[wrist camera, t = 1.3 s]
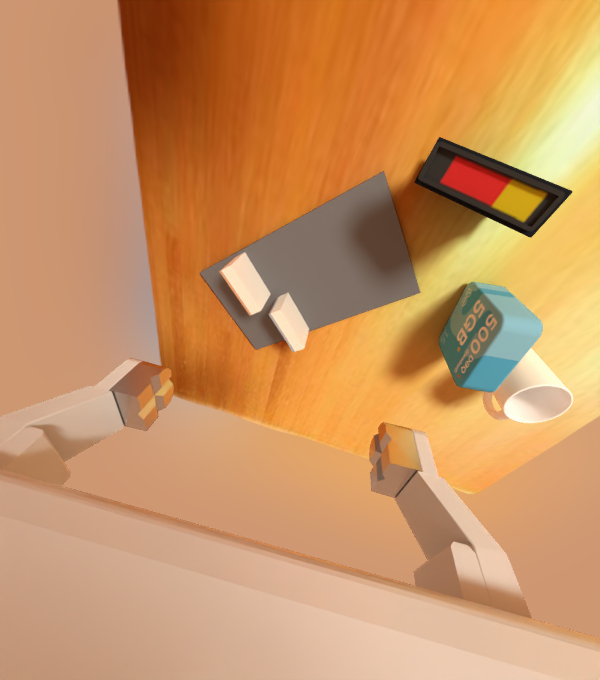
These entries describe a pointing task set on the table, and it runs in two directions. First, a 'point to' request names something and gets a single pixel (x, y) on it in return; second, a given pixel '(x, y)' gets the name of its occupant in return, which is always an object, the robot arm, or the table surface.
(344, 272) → the mat
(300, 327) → the light grey flat block
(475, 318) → the data package
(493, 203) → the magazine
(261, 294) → the peach flat block
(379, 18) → the table surface
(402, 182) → the table surface
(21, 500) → the robot arm
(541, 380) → the mug
